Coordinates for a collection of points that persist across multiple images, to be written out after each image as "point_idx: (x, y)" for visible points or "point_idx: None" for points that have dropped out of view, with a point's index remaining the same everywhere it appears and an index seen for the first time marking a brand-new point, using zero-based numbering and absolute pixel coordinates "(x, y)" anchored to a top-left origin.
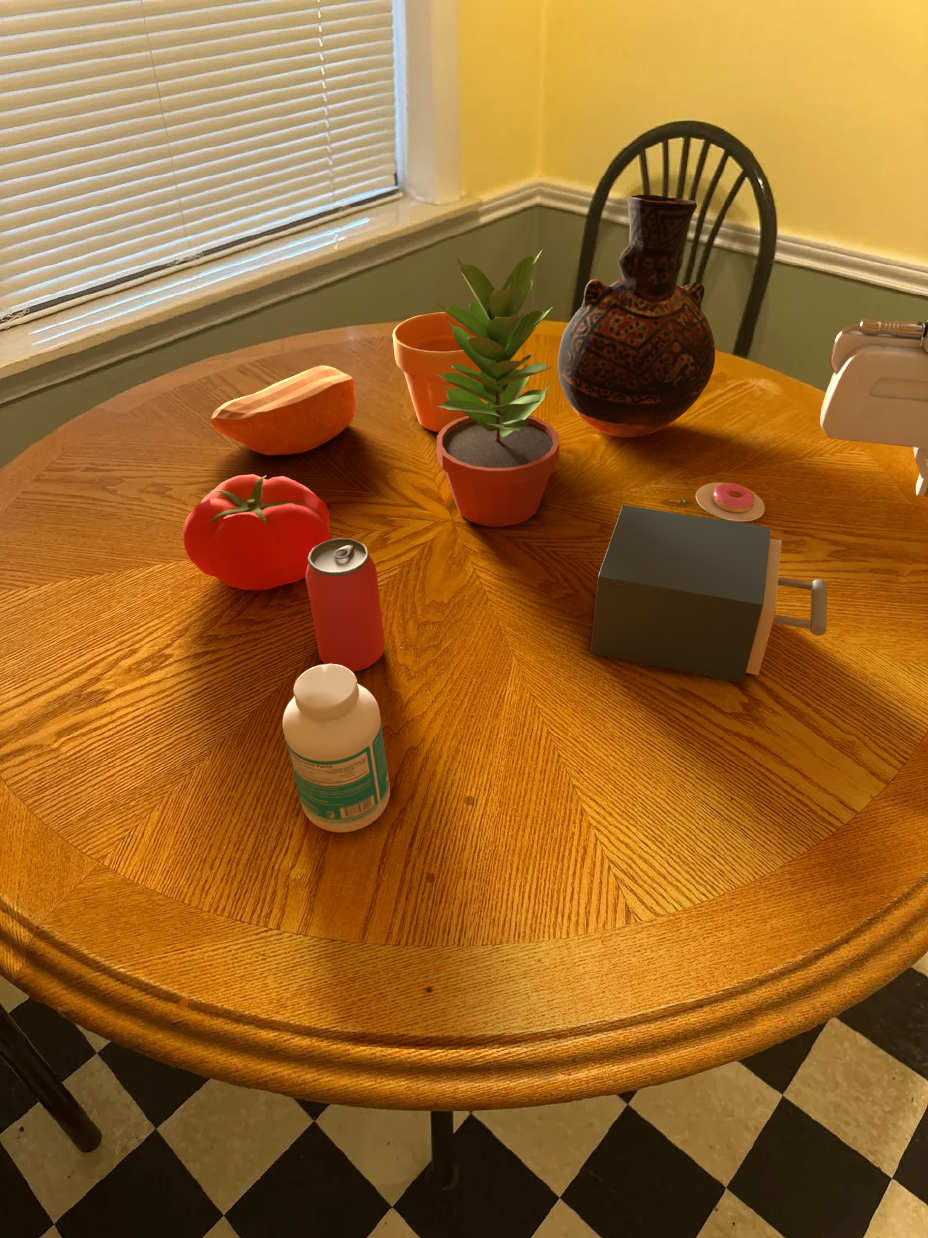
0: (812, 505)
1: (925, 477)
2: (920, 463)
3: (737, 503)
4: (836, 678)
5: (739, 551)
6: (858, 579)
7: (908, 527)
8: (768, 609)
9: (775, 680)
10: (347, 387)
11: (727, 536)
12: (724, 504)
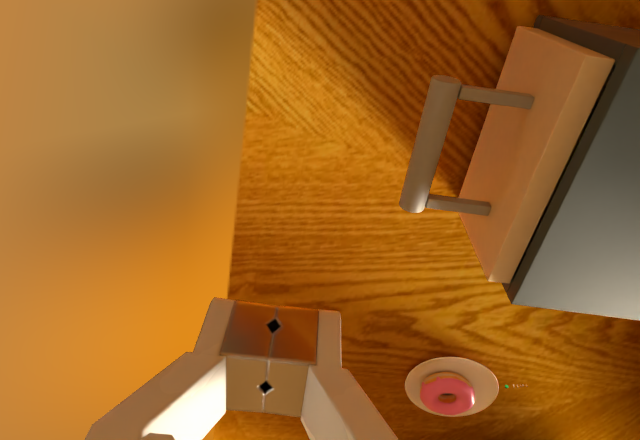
0: None
1: (336, 371)
2: (377, 433)
3: (449, 383)
4: (374, 56)
5: (606, 231)
6: (305, 272)
7: None
8: (601, 58)
9: (476, 34)
10: None
11: (611, 272)
12: (464, 381)
